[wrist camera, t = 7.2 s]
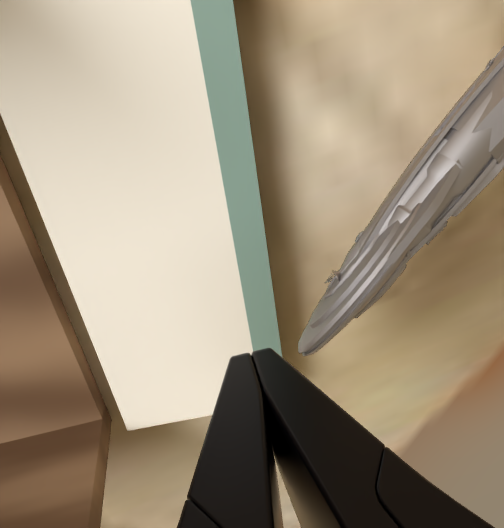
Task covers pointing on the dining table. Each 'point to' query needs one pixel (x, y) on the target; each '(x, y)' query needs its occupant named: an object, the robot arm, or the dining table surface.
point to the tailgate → (144, 187)
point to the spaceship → (418, 205)
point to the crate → (44, 393)
